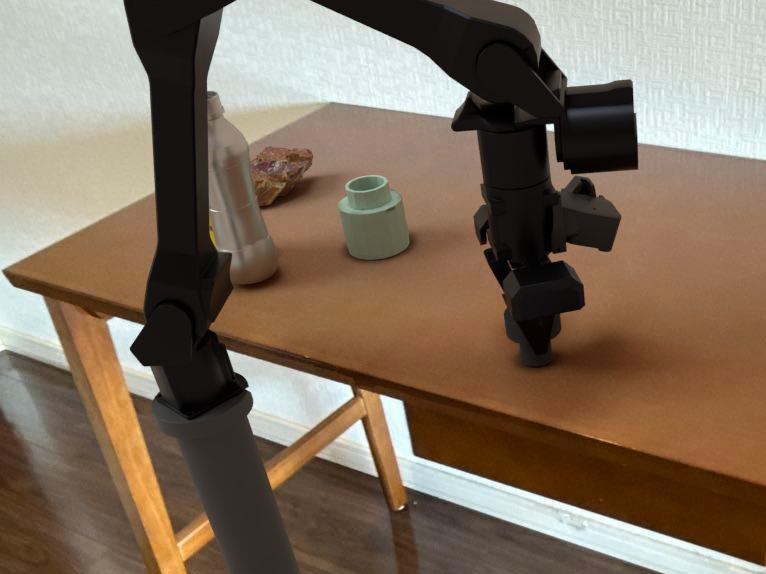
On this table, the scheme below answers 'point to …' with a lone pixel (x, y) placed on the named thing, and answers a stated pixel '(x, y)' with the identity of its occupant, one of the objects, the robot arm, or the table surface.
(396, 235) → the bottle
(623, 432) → the table surface
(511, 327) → the stopper
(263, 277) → the plastic bottle
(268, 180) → the mineral specimen
